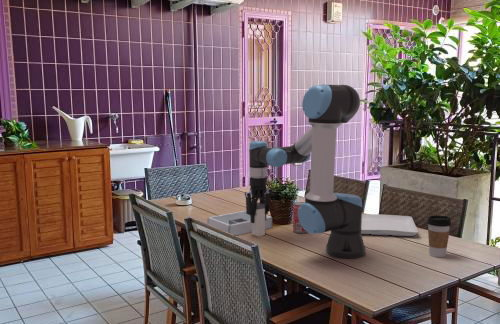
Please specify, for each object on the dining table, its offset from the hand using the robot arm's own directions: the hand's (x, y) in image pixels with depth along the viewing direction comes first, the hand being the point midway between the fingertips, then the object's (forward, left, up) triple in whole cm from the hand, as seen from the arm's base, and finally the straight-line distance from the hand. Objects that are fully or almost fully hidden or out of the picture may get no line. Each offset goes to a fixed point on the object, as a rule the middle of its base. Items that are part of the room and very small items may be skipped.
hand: (258, 228), depth 215 cm
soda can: (-8, -18, -3) cm, 20 cm away
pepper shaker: (0, 0, -3) cm, 3 cm away
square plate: (-28, -51, -3) cm, 58 cm away
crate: (+14, 0, -3) cm, 14 cm away
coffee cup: (-64, -37, -3) cm, 74 cm away
